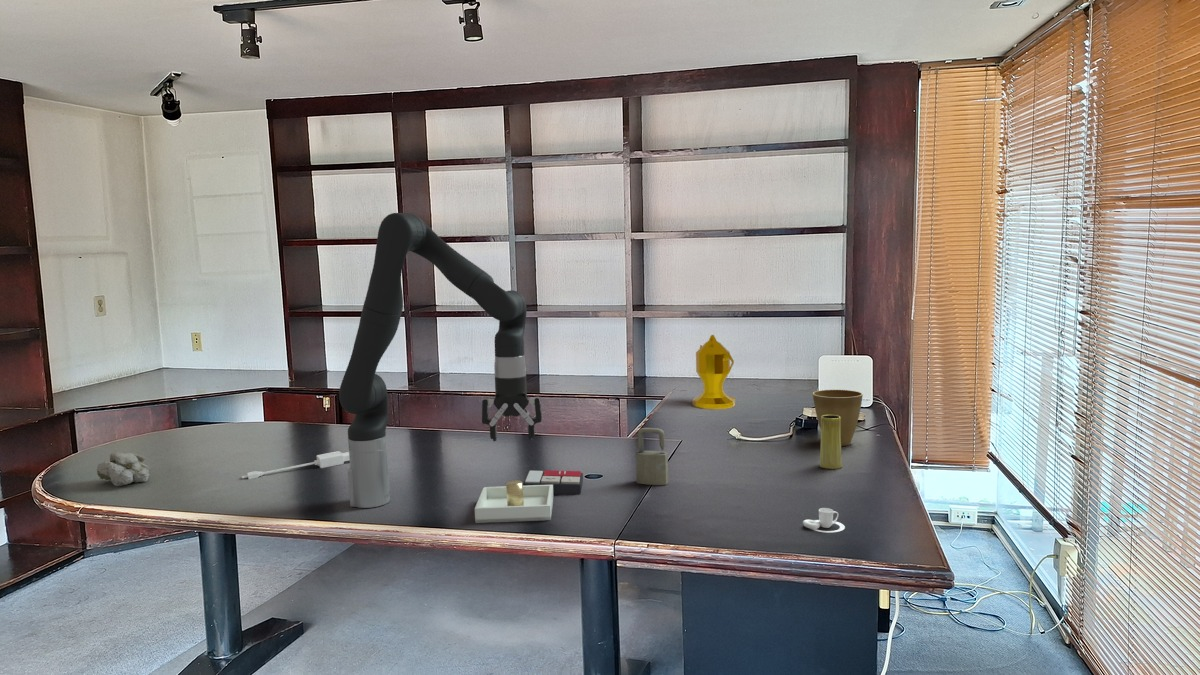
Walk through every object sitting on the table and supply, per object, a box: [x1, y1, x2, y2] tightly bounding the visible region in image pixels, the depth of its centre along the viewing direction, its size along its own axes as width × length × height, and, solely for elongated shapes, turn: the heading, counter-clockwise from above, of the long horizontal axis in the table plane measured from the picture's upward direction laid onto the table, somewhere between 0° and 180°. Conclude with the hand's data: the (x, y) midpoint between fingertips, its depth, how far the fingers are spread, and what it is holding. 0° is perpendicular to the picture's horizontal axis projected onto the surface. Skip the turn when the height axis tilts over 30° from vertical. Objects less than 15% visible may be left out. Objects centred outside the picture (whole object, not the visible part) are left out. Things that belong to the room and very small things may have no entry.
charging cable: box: [241, 450, 350, 480], centre depth 233 cm, size 5×32×3 cm, turn 121°
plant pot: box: [812, 389, 863, 447], centre depth 242 cm, size 15×15×16 cm
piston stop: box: [505, 479, 524, 506], centre depth 189 cm, size 4×4×6 cm
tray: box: [474, 485, 554, 524], centre depth 190 cm, size 18×17×4 cm
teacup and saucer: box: [802, 507, 846, 534], centre depth 172 cm, size 9×8×4 cm
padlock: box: [635, 427, 669, 486], centre depth 208 cm, size 4×8×15 cm, turn 70°
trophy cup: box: [691, 334, 736, 410], centre depth 308 cm, size 18×24×28 cm
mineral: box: [96, 451, 151, 487], centre depth 224 cm, size 12×17×10 cm
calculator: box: [522, 469, 584, 496], centre depth 206 cm, size 11×4×15 cm
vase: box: [819, 415, 843, 470], centre depth 217 cm, size 6×6×14 cm
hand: (512, 440), depth 188 cm, fingers open, 8 cm apart
